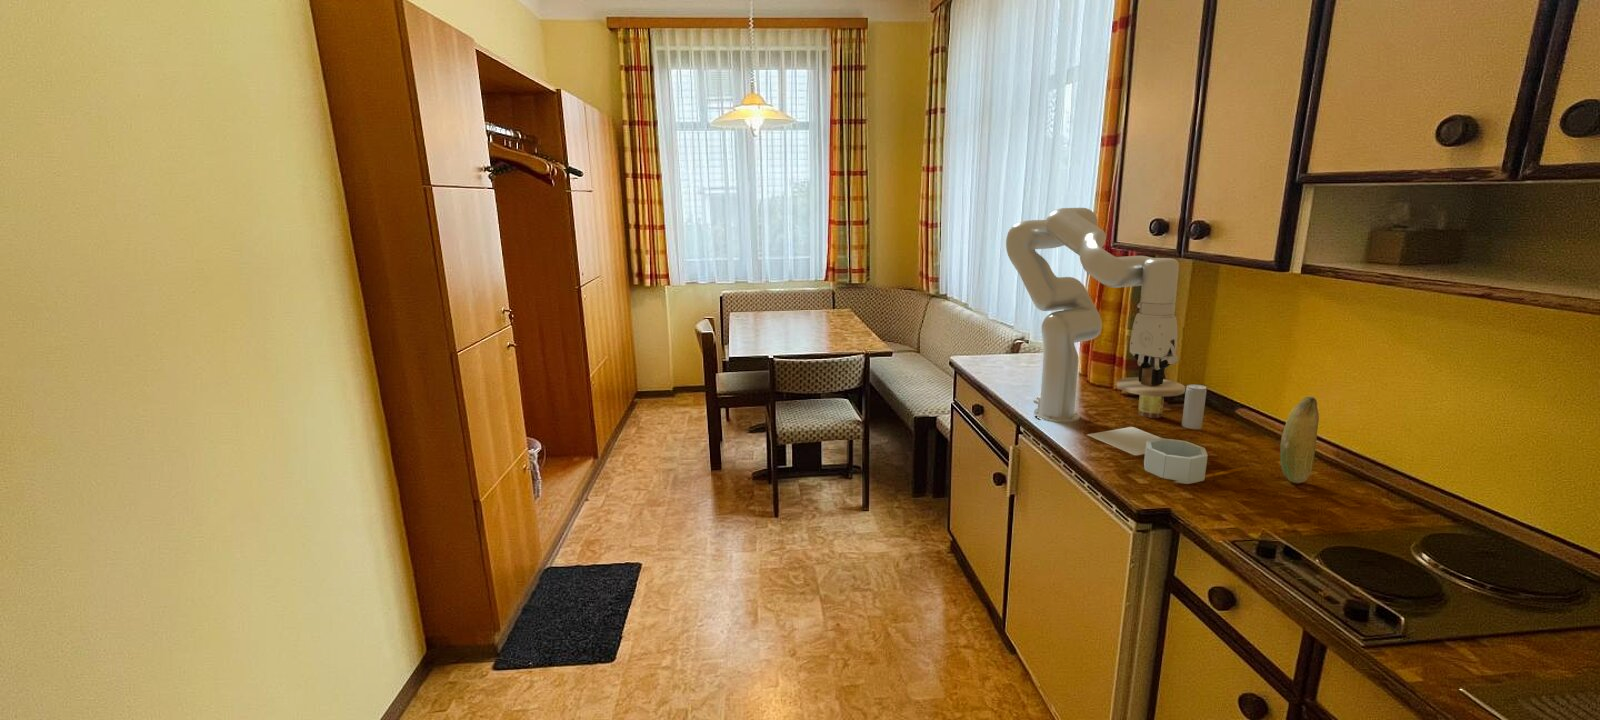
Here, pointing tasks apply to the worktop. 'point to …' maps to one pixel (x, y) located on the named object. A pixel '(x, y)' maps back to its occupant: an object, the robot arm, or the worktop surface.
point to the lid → (1150, 385)
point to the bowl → (1175, 460)
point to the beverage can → (1194, 406)
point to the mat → (1126, 439)
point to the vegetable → (1299, 441)
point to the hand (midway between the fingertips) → (1150, 382)
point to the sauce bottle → (1151, 401)
